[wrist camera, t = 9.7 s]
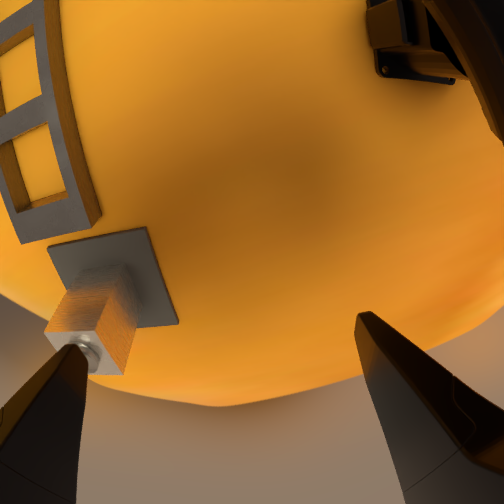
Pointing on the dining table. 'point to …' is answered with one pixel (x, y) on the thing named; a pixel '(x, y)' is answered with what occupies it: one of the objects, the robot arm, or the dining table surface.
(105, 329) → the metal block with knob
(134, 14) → the dining table surface
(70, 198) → the grey metal frame
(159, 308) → the mat
